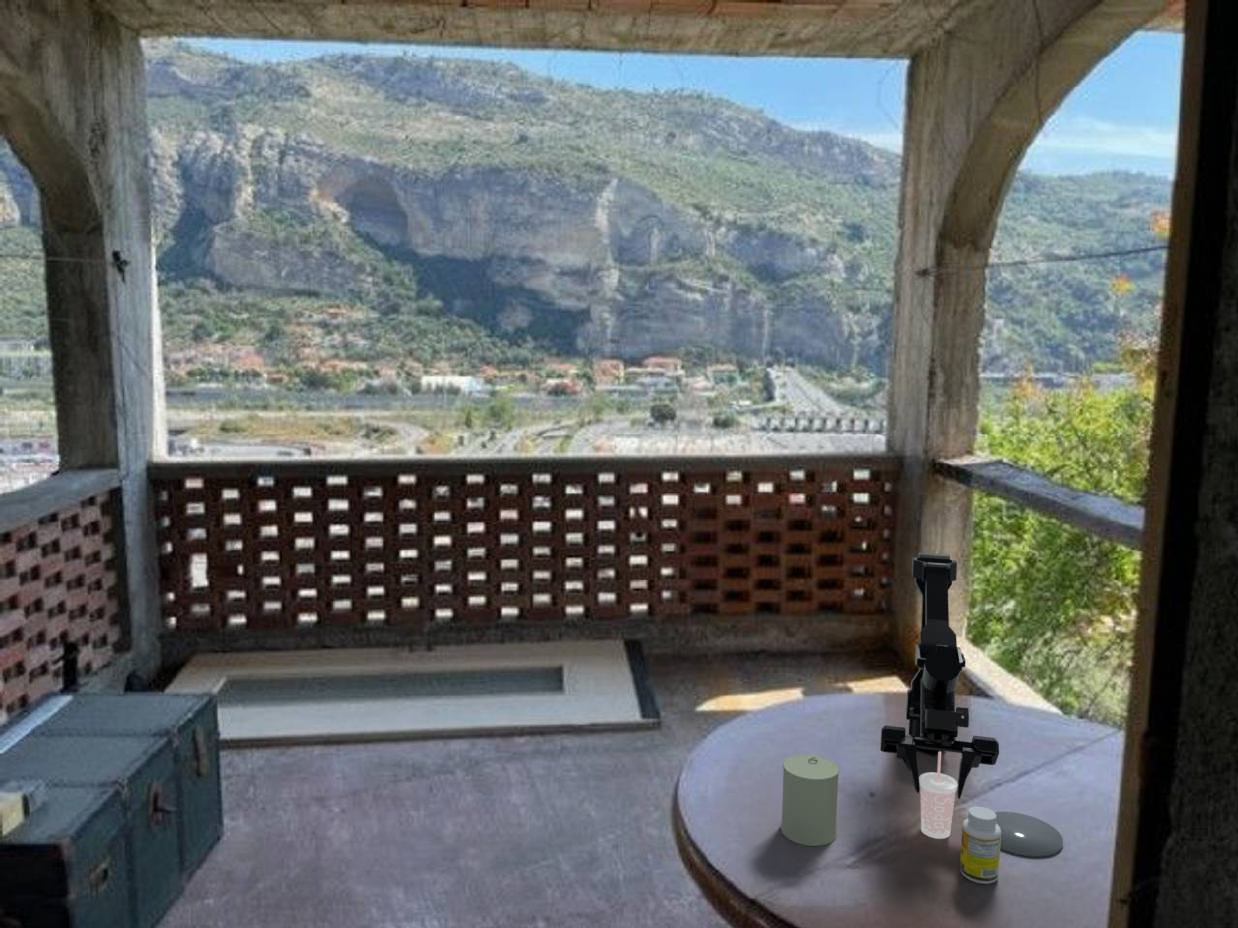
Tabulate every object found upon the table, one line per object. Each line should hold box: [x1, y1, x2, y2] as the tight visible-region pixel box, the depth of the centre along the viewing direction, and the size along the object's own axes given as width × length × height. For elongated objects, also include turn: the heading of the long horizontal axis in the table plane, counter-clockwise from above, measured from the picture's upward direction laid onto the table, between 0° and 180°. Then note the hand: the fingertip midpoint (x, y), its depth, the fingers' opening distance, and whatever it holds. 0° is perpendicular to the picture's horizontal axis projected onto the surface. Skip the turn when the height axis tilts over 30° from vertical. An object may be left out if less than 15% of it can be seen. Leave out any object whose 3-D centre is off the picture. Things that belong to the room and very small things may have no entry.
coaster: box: [994, 811, 1064, 858], centre depth 153 cm, size 13×13×1 cm
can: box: [780, 753, 840, 847], centre depth 153 cm, size 9×9×12 cm
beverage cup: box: [919, 751, 958, 840], centre depth 153 cm, size 6×6×14 cm
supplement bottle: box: [959, 806, 1001, 885], centre depth 141 cm, size 6×6×10 cm
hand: (938, 795), depth 151 cm, fingers closed on beverage cup, 6 cm apart
